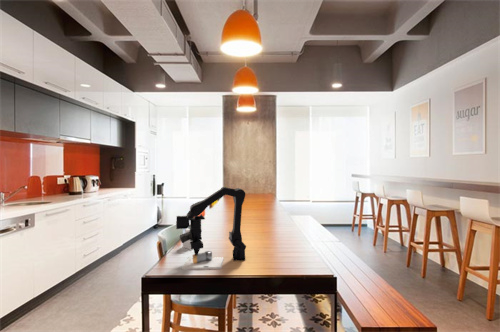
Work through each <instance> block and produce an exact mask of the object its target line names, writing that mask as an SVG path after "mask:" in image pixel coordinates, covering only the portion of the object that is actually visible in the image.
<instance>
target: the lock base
mask: <svg viewBox="0 0 500 332" xmlns="http://www.w3.org/2000/svg"><path fill="white" fill-rule="evenodd" d="M223 263H224V256H222V257H221V256H217V257H215V256H214V257H213V256H212V260H210V261H203V262H198V263H195V264H194V263H193V257H188V258H187V259H186V261H185V262H184V264H183V266H182V270H183V271H184V270H185V271H186V270H189V271H190V270H222V267H223Z"/></svg>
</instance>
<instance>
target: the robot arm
mask: <svg viewBox="0 0 500 332" xmlns="http://www.w3.org/2000/svg"><path fill="white" fill-rule="evenodd" d="M225 196H230V197H232V198H233V205H234V206H233V220H232V230H231V231H229V232H228V235H229V236H228V240H229V242H230V243H231V245H232V246H233V250H232V260H233V261H235V262H236V261H246V248H247V245H246V244H245V243H244V241H243V237H242V232H241V225H242V224H241V223H242V211H243V210H242V209H243V204H244V202H245V199H246V191H244V190H243V189H242V188H239V187H238V188H231V187H226V186H222V187H221V188H220V189H218V190H217V191H215V192H213V193H212V194H210V195H209V196H208V197H206V198H205V199H203V200H201V201H200V200H199V201H197V202H195V203H192V204H191V205H190V208H189V211H188V212H187V214H186V215H176V221H175V222H176V223H175V227H176V230H186V229H187V228H190V232H187V233H182V234H180V235H179V239H180V242H181V244H183V243H184V242H186V241H188V240H190V241H191V242H190V245H191V249H190V250H193V252H194V254H199V252H200V250H201V249H204V243H203V241H202V231H203V230H202V220H206V218H205V216H203V214H202V213H203V212H204V211H206V209H207V208H208V207H209V206H211V205H212V204H214V203H216V202H217V201H218V200H219V199H221V198H223V197H225Z"/></svg>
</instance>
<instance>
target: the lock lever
mask: <svg viewBox="0 0 500 332" xmlns="http://www.w3.org/2000/svg"><path fill="white" fill-rule="evenodd" d="M212 257H213V252H212V251H211V250H206V251H204V252H201V253H199V252H198V254H195V253H194V254H192V258H193V263H194V264H195V263H198V262H203V261H210V260H212Z"/></svg>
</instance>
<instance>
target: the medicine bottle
mask: <svg viewBox="0 0 500 332" xmlns="http://www.w3.org/2000/svg"><path fill="white" fill-rule="evenodd" d="M184 230H185V233H187V232H190V227H187V228H185V229H184ZM190 242H191V241H190V240H188V241H186V242H184V243H182V248H184V249H188V250H192V249H191V245H190Z"/></svg>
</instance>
